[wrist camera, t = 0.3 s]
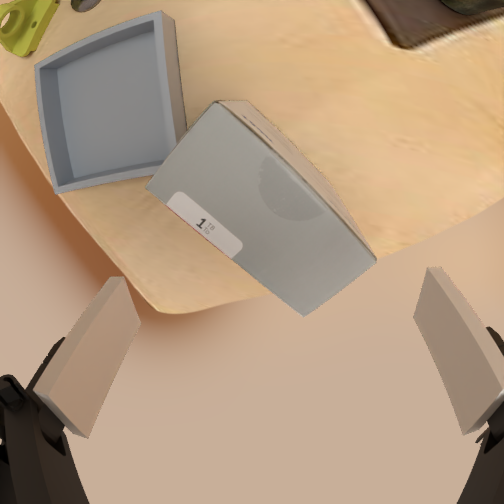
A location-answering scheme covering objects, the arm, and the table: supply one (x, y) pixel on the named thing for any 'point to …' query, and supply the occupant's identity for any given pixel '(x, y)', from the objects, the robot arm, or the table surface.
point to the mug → (473, 5)
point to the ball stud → (83, 4)
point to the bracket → (25, 24)
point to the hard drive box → (263, 205)
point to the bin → (111, 104)
